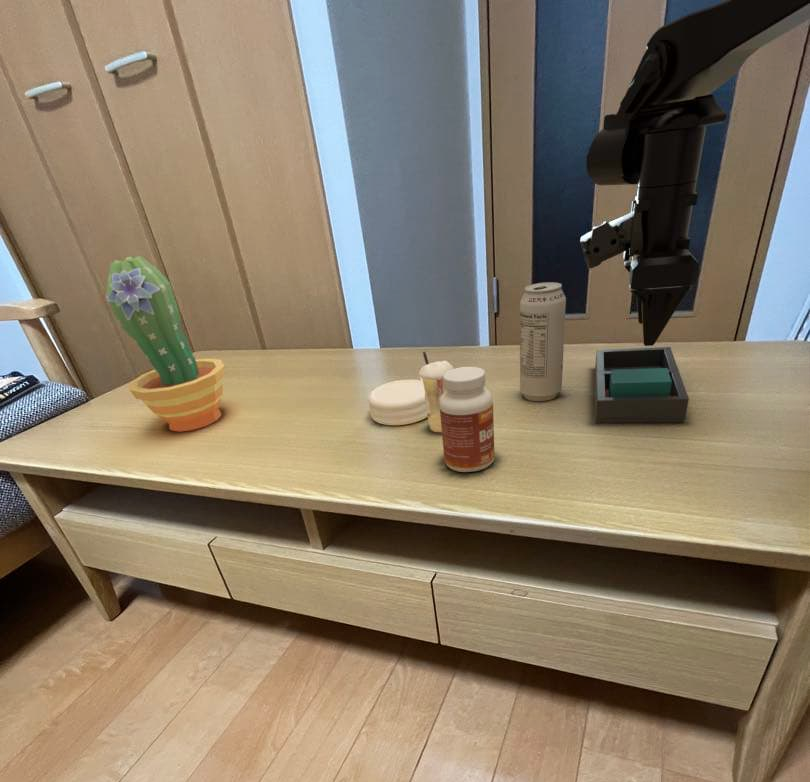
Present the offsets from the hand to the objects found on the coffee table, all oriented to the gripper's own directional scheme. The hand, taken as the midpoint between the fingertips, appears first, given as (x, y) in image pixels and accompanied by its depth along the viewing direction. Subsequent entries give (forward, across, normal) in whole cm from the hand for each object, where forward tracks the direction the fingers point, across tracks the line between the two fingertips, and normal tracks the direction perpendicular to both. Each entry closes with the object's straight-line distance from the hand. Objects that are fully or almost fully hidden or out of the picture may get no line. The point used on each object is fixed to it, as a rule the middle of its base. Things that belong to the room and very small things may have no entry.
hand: (645, 333), depth 65 cm
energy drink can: (+10, -5, -13) cm, 17 cm away
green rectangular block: (+9, 0, 0) cm, 9 cm away
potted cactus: (+10, +3, -70) cm, 71 cm away
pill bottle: (+10, +16, -20) cm, 28 cm away
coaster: (+10, +1, -33) cm, 34 cm away
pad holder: (+10, -5, 0) cm, 11 cm away
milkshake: (+10, +6, -26) cm, 28 cm away
